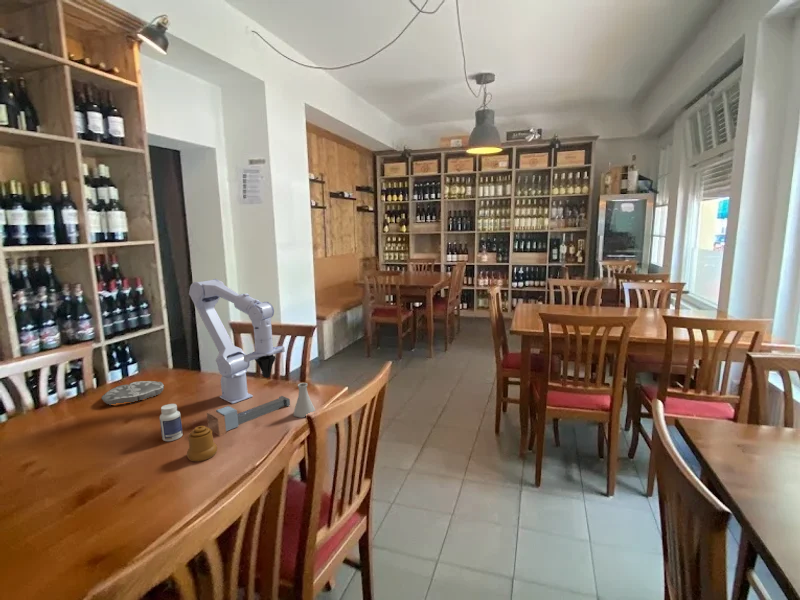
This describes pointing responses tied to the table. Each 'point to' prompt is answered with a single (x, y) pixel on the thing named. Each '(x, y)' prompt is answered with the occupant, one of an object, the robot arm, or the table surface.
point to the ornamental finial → (201, 444)
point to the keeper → (229, 417)
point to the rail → (244, 414)
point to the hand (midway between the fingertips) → (266, 376)
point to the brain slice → (133, 392)
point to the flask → (303, 402)
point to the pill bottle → (170, 423)
